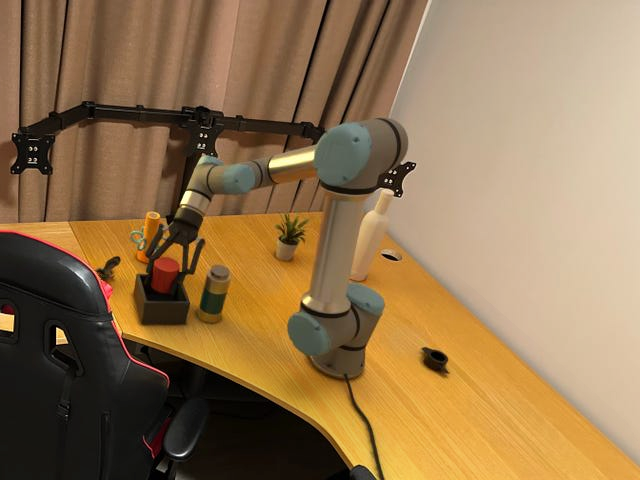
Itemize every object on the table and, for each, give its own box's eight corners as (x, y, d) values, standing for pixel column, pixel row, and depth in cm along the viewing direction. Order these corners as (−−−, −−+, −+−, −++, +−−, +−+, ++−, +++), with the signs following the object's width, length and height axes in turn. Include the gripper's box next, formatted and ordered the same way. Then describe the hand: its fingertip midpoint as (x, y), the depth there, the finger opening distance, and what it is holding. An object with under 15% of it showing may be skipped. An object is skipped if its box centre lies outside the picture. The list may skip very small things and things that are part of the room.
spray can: (222, 323, 178) (235, 277, 168) (200, 323, 177) (211, 277, 167) (216, 308, 183) (228, 263, 173) (194, 308, 181) (205, 263, 171)
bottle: (364, 270, 212) (399, 187, 193) (367, 283, 206) (404, 199, 187) (340, 265, 212) (373, 182, 192) (343, 278, 206) (377, 194, 187)
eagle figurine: (121, 285, 182) (126, 264, 188) (109, 268, 178) (114, 246, 183) (98, 291, 185) (104, 270, 191) (86, 274, 181) (92, 253, 186)
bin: (185, 324, 175) (190, 303, 170) (141, 324, 172) (144, 302, 167) (175, 294, 185) (179, 274, 180) (133, 294, 182) (136, 273, 177)
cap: (177, 293, 172) (182, 271, 167) (153, 292, 170) (157, 271, 166) (172, 278, 177) (176, 257, 172) (148, 278, 175) (152, 256, 170)
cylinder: (123, 249, 199) (129, 206, 190) (153, 246, 203) (160, 203, 194) (138, 270, 191) (144, 227, 182) (169, 267, 196) (177, 224, 186)
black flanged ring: (421, 371, 175) (425, 363, 173) (418, 349, 183) (422, 341, 181) (448, 378, 175) (453, 371, 173) (445, 356, 182) (449, 349, 180)
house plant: (254, 259, 207) (267, 215, 196) (262, 240, 217) (275, 197, 206) (297, 272, 205) (312, 228, 194) (303, 252, 215) (318, 209, 204)
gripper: (226, 229, 173) (193, 305, 172) (160, 205, 177) (128, 280, 176) (224, 219, 166) (190, 299, 165) (156, 195, 170) (122, 273, 169)
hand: (158, 289), depth 170 cm, fingers closed on cap, 7 cm apart
